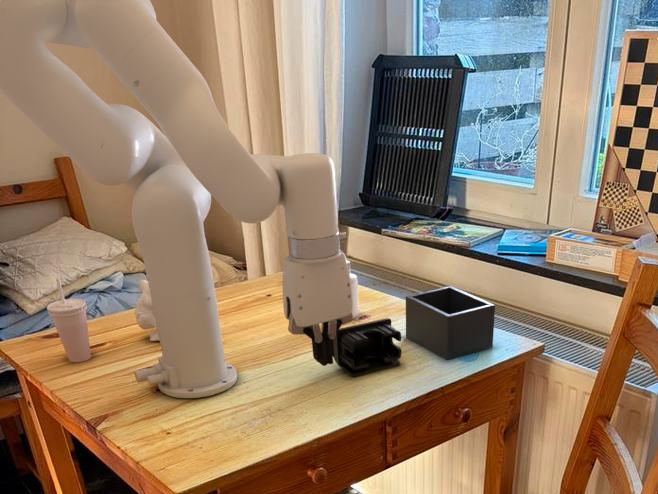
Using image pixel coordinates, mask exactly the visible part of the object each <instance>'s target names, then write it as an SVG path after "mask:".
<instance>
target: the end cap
mask: <svg viewBox="0 0 658 494" xmlns="http://www.w3.org/2000/svg"><path fill="white" fill-rule="evenodd" d="M393 339H394V340H396V341H398V342H401V341H402V333H401V331H399V330H398V329H396V328H395V327H393V326H392V319H391V318H389V317H388V318H387V317H386V318H382V319H381V318H380V319H377V320H372V321H367V322H363V323H358V324H354V325H349V326H345V327H340V328H339V330H338V331H337V332H336V337H335V339H333V345H334V356H333V361H334V362H335V363H336V365H337V366H338V367H339V368H340V369H341V371H343V372H344V373H346V374H347V375H348V376H350V377H351V378H358V377H361V376H366V375H369V374H373V373H378V372H382V371H386V370H390V369H393V368H397V367H400V366H401V361H400V359H401V358H402V351H403V350H402V348H401V347H400V346H399V345H397V344H395V342H394V341H393Z"/></svg>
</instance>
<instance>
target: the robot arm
mask: <svg viewBox="0 0 658 494" xmlns="http://www.w3.org/2000/svg"><path fill="white" fill-rule="evenodd" d="M45 43H50V44H58V45H64V46H72V47H78V48H85V49H90V50H92V51H93V52H94V53H95V54H96V56H98V58H99V59H100V60H101V61H102V62H103V63H104V64H105V66H106V67H107V68H108V69H109V70H110V71H111V72H112V73H113V74H114V76H115V77H116V78H117V79H118V80H119V81H120V82H121V84H122V85H123V86H124V87H125V88H126V89H127V90H128V91H129V92H130V93H131V95H132V96H133V97H134V98H135V99H136V100H137V101H138V102H139V104H140V105H141V106H142V107H143V108H144V109H145V110H146V111H147V113H148V114H149V115H150V116H151V117H152V118H153V119H154V120H155V122H156V123H157V125H158V126H159V128H160V129H159V128H158V126H156V125H155V124H154V123H153V122H152V121H151V120H150V119H149V118H147V117H146V116H145V115H144V114H143V113H141V112H140V111H138V109H136V108H133V107H131V106H129V105H126V104H121V103H106V102H105V101H103V99H102V98H101V97H100V96H98V94H97V93H95V92H94V91H93V90H92V89H91V88H90V87H89V86H88V85H87V84H86V83H85V82H84V81H83V80H82V78H81V77H80V76H78V74H76V72H74V71H73V70H72V69H71V68H70V67H69V66H68V65H67V64H65V63H64V62H63V61H61V60H60V59H59V58H58V57H56V55H54V54H53V53H52V52H51V51H50V50H49V49H48V47H47V46H46V44H45ZM0 93H2V95H3V96H4V97H5V98H7V100H9V102H11V104H13V105H14V106H15V107H16V108H17V109H18V110H20V112H22V113H23V114H24V115H25V116H26V117H27V118H28V119H29V120H30V121H31V122H32V123H33V124H34V125H35V126H36V127H37V128H38V129H39V130H40V131H41V132H42V133H43V134H44V135H45V136H46V137H47V138H48V139H49V140H50V141H51V142H53V144H55V146H57V147H58V148H59V149H60V150H61V151H62V152H63V153H64V154H65V155H66V156H67V157H68V158H69V159H71V160H72V161H73V162H74V163H75V165H77V166H78V168H80V169H81V170H82V171H83V172H84V173H85V174H86V175H87V176H88V177H89V178H90V179H92V180H94V181H95V182H97V183H99V184H102V185H104V186H110V187H112V186H120V185H122V184H125V185H126V186H127V187H128V188H129V189H130V190H131V191H132V192H134V195H133V199H132V204H131V221H132V227H133V230H134V235H135V238H136V240H137V244H138V247H139V251H140V253H141V257H142V260H143V265H144V269H145V274H146V279H147V282H148V284H149V289H150V293H151V299H152V304H153V309H154V314H155V319H156V324H157V330H158V335H159V344H160V345H159V346H160V350H161V355H162V356H158V357H157V361H158V363H154V364H153V367H152V366H151V367H147V368H141V369H136V370H134V371H133V373H134V378H135V381H136V382H137V383H138V384H140V383H143V382H147V383H148V385H149V386H151V385H156V384H157V387H158V390H159V391H160V392H161V393H163V394H165V395H166V396H169V397H172V398H177V399H198V398H199V399H200V398H205V397H210V396H214V395H217V394H220V393H222V392H225V391H226V390H229V389H230V388H232V387H233V386H234V385H235V384H236V383H237V381H238V371H237V369H236V368H235V366H233V365H232V364H230V363H228V362H226V356H225V350H224V343H223V335H222V329H221V322H220V314H219V307H218V301H217V294H216V288H215V287H216V286H215V282H214V275H213V269H212V262H211V257H210V252H209V247H208V244H207V239H206V235H205V234H206V233H205V225H204V222H205V219H206V218H207V216H208V215H209V212H210V209H211V204H212V198H213V199H214V200H215V201H216V202H217V203H218V204H219V205H220V206H221V208H223V209H224V211H225V212H227V213H228V214H229V215H230V216H231V217H233V218H234V219H236V220H238V221H239V222H242V223H245V224H259V223H262V222H264V221H266V220H268V219H269V218H270V217H271V216H272V215H273V213H274V212H275V210H276V209H277V207H279V206H282V207H283V208H284V209H283V210H284V216H285V218H284V219H285V228H286V236H287V237H286V238H287V246H288V256H285V257H284V258H283V267H282V305H283V315H284V318H285V319H286V320H288V327H287V331H288V332H289V333H290V334H292V335H295V336H297V335H305V336H307V337H308V338H309V339H311V348H312V349H311V350H312V357H313V359H314V360H315V361H316V362H317V363H319V364H320V365H322V367H326V366H328V365H333V364H334V358H333V356H334V345H333V339H335V337H336V332H337V331H338V330H339V329H340V328H342V325H345V324H347V323H348V322H350V321H352V320H353V319H352V318H353V315H352V309H353V297H352V288H351V281H350V275H349V270H348V266H347V262H346V260H347V258H346V259H345V256H346V254H345V252H344V251H343V250H342V243H343V242H346V241H347V240H348V236H347V233H346V231H340V230H339V214H338V201H337V187H336V185H337V184H336V173H335V172H336V171H335V165H334V161H333V160H332V158H331V157H330V156H329V155H327V154H324V153H318V152H307V153H297V154H293V155H272V154H264V153H252V154H251V153H250V152H249V151H248V150H247V148H245V146H244V145H243V144H242V143H241V141H240V140H239V139H238V138H237V137H236V135H235V134H234V132H232V130H231V129H230V127H229V126H228V124H227V122H226V121H225V120H224V118H223V117H222V115H221V114H220V112H219V110H218V107H217V105H216V103H215V101H214V98H213V95H212V92H211V89H210V87H209V84H208V83H207V80H206V79H205V77H204V76H203V74H202V73H201V72H200V70H199V69H198V68H197V67H196V66H195V65H194V64H193V62H192V61H191V60H190V58H189V57H187V55H186V54H185V53H184V52H183V50H181V48H180V47H179V46H178V44H177V43H176V42H175V41H174V40H173V39H172V37H171V36H170V35H169V34H168V33H167V32H166V30H165V29H164V28H163V27H162V25H161V24H160V23H159V21H158V20H157V13H156V11H155V8H154V6H153V3H152V2H151V0H0ZM344 254H345V255H344ZM320 324H321V325H320Z"/></svg>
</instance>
